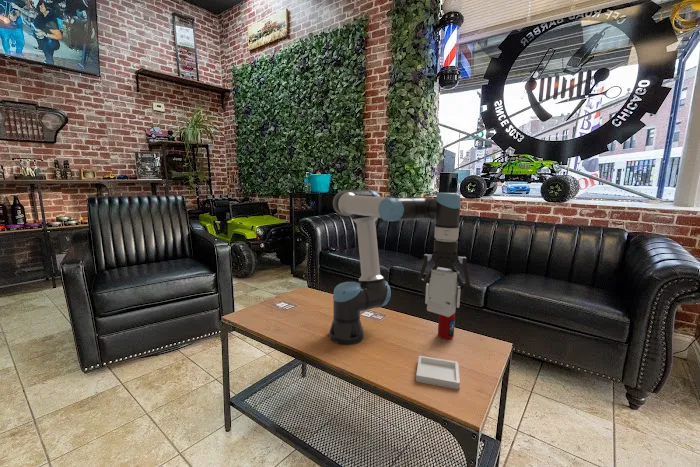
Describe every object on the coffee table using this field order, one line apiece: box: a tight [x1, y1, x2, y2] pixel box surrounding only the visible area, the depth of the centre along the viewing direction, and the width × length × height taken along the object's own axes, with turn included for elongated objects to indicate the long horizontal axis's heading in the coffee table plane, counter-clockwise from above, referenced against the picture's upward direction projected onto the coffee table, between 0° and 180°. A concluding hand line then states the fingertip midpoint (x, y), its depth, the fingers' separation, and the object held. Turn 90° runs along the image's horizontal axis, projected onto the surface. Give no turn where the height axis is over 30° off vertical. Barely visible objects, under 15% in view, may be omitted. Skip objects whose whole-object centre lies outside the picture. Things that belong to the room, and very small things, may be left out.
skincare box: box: [426, 267, 461, 317], centre depth 105 cm, size 8×6×15 cm
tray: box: [415, 355, 461, 390], centre depth 109 cm, size 14×13×2 cm
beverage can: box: [437, 313, 456, 340], centre depth 136 cm, size 7×7×12 cm
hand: (441, 304), depth 106 cm, fingers closed on skincare box, 10 cm apart
